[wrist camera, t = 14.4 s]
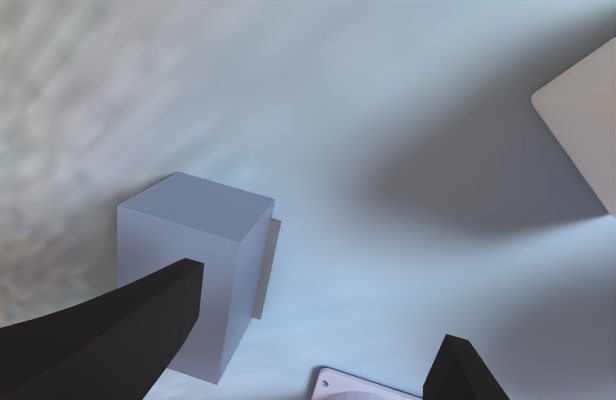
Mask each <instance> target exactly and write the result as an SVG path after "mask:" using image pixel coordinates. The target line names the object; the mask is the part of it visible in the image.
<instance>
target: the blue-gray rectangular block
mask: <svg viewBox="0 0 616 400" xmlns="http://www.w3.org/2000/svg"><path fill="white" fill-rule="evenodd" d="M274 201H275V199H271V198H268V197H264V196H261V195H257V194H254V193H250V192H247V191H243V190H240V189H236V188H232V187H229V186H225V185H222V184H218V183H215V182H211V181H208V180H204V179H201V178H197V177H194V176H190V175H187V174H183V173H180V172H177V173H175V174H173V175H171V176H170V177H168V178H166V179H164V180H162V181H160V182H159V183H157V184H155V185H153V186H151V187H150V188H148V189H146V190H144V191H142V192H141V193H139V194H137V195H135V196H133V197H131V198H130V199H128V200H126V201H124V202H122V203H121V204H119V205H117V254H116V289H118V288H120V287H123V286H125V285H127V284H129V283H132V282H134V281H136V280H138V279H140V278H143V277H145V276H147V275H149V274H151V273H153V272H156V271H158V270H160V269H162V268H164V267H166V266H168V265H170V264H172V263H175V262H177V261H179V260H181V259H184V258H188V259H192V260H195V261H199V262H202V263H204V272H203V282H202V292H201V301H200V311H199V318H198V319H197V321H196V323H195V325H194V327H193V328H192V330H191V332H190V334H189V336H188V337H187V339H186V341H185V342H184V344H183V346H182V347H181V349H180V350H179V351H178V353H177V354H176V355H175V357H174V358H173V359H172V361H171V362H170V364H169V365H168V366H167V368H169V369H172V370H175V371H178V372H181V373H184V374H187V375H190V376H192V377H195V378H198V379H201V380H204V381H207V382H210V383H213V384H216V385H217V384H218V382H219V380H220V378H221V376H222V375H223V373H224V371H225V369H226V367H227V365H228V363H229V361H230V359H231V357H232V355H233V354H234V352H235V350H236V348H237V346H238V344H239V342H240V340H241V338H242V336H243V334H244V333H245V331H246V329H247V327H248V325H249V323H250V321H251V318H252V317H251V314H252V309H253V304H254V299H255V294H256V289H257V284H258V279H259V274H260V268H261V263H262V258H263V253H264V248H265V243H266V238H267V233H268V227H269V222H270V219H271V216H272V211H273V206H274Z"/></svg>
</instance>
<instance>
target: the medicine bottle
mask: <svg viewBox="0 0 616 400" xmlns="http://www.w3.org/2000/svg"><path fill="white" fill-rule="evenodd" d="M531 102H532V105H533V106H534V108H535V109H536V111H537V112H538V113H539V115H540V116H541V118H542V119H543V120H544V122H545V123H546V125H547V126H548V127H549V129H550V130H551V132H552V133H553V135H554V136H555V137H556V139H557V140H558V142H559V143H560V144H561V146H562V147H563V149H564V150H565V151H566V153H567V154H568V156H569V157H570V159H571V160H572V161H573V163H574V164H575V166H576V167H577V168H578V170H579V171H580V173H581V174H582V175H583V177H584V178H585V180H586V181H587V183H588V184H589V185H590V187H591V188H592V190H593V191H594V192H595V194H596V195H597V197H598V198H599V199H600V201H601V202H602V204H603V205H604V207H605V208H606V209H607V211H608V212H609V214H610V215H612V216H613V217H614V218H616V36H615V37H614V38H612V39H611V40H609V41H608V42H607V43H605V44H604V45H602V46H601V47H599V48H598V49H597V50H595V51H594V52H592V53H591V54H589V55H588V56H586V57H585V58H584V59H582V60H581V61H579V62H578V63H576V64H575V65H573V66H572V67H571V68H569V69H568V70H566V71H565V72H563V73H562V74H560V75H559V76H558V77H556V78H555V79H553V80H552V81H550V82H549V83H547V84H546V85H545V86H543V87H542V88H540V89H539V90H537V91H536V92H535V93H534V94H533V95H532V96H531Z"/></svg>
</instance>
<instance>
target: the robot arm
mask: <svg viewBox="0 0 616 400" xmlns="http://www.w3.org/2000/svg"><path fill="white" fill-rule="evenodd" d="M203 272H204V263H202V262H199V261H195V260H192V259H188V258H184V259H181V260H179V261H177V262H175V263H172V264H170V265H168V266H166V267H164V268H162V269H160V270H158V271H156V272H153V273H151V274H149V275H147V276H145V277H143V278H140V279H138V280H136V281H134V282H132V283H129V284H127V285H125V286H123V287H120V288H118V289H116V290H113V291H111V292H108V293H106V294H103V295H101V296H98V297H96V298H94V299H91V300H89V301H86V302H83V303H81V304H78V305H75V306H72V307H70V308H67V309H64V310H61V311H58V312H55V313H51V314H48V315H45V316H42V317H39V318H36V319H32V320H28V321H25V322H21V323H17V324H13V325H10V326H6V327H2V328H0V400H143V398H144V397H145V396H146V394H147V393H148V392H149V390H150V389H151V388H152V386H153V385H154V384H155V382H156V381H157V380H158V378H159V377H160V376H161V374H162V373H163V372H164V370H165V369H166V368H167V366H168V365H169V364H170V362H171V361H172V359H173V358H174V357H175V355H176V354H177V353H178V351H179V350H180V349H181V347H182V346H183V344H184V342H185V341H186V339H187V337H188V336H189V334H190V332H191V330H192V328H193V327H194V325H195V323H196V321H197V319H198V318H199V311H200V301H201V292H202V282H203ZM324 381H327V382H324ZM311 400H510V399H509V398H508V396H507V395H506V393H505V392H504V391H503V389H502V388H501V386H500V385H499V384H498V382H497V381H496V379H495V378H494V376H493V375H492V373H491V372H490V371H489V369H488V368H487V366H486V365H485V363H484V362H483V360H482V359H481V357H480V356H479V355H478V353H477V352H476V350H475V349H474V347H473V346H472V345H471V343H470V342H469V341H468V340H465V339H462V338H458V337H455V336H452V335H448V334H446V335H445V338H444V340H443V342H442V344H441V347H440V349H439V351H438V353H437V356H436V358H435V360H434V363H433V365H432V367H431V369H430V372H429V374H428V376H427V378H426V381H425V383H424V385H423V399H421V398H418V397H415V396H412V395H409V394H406V393H402V392H399V391H396V390H393V389H390V388H387V387H384V386H381V385H378V384H375V383H372V382H369V381H366V380H363V379H360V378H357V377H354V376H351V375H348V374H345V373H342V372H339V371H336V370H333V369H330V368H323V369H321V370H320V372H319V375H318V378H317V382H316V385H315V388H314V391H313V394H312V398H311Z"/></svg>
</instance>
